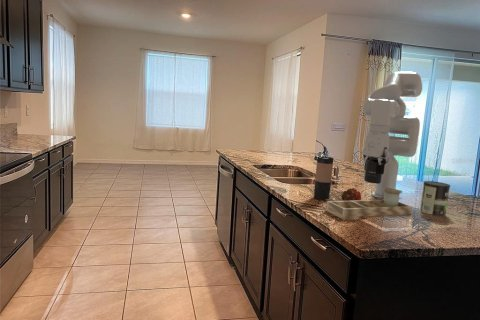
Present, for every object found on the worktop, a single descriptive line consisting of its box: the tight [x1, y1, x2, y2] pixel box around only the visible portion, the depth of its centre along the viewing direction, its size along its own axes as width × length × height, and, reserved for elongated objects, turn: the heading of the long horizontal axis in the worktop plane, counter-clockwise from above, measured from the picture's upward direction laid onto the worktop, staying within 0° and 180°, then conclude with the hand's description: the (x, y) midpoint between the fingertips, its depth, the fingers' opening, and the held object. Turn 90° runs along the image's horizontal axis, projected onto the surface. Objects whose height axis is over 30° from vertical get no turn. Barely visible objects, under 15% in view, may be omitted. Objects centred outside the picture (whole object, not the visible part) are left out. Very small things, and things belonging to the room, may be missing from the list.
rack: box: [325, 199, 413, 221], centre depth 154 cm, size 34×13×4 cm, turn 110°
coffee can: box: [419, 180, 451, 216], centre depth 159 cm, size 10×10×14 cm
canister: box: [383, 188, 401, 207], centre depth 157 cm, size 6×6×9 cm
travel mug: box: [313, 156, 334, 201], centre depth 174 cm, size 8×8×20 cm
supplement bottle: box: [363, 156, 382, 185], centre depth 151 cm, size 7×7×12 cm
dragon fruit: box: [340, 187, 362, 201], centre depth 167 cm, size 8×8×12 cm
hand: (373, 172), depth 151 cm, fingers closed on supplement bottle, 6 cm apart
